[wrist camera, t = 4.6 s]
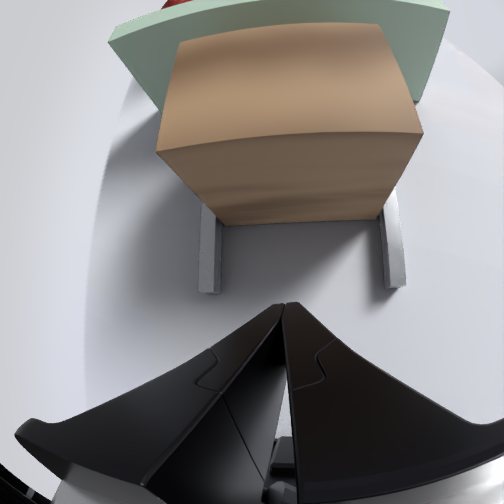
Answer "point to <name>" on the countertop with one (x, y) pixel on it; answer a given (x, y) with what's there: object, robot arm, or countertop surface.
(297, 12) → the backboard
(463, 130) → the countertop surface
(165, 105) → the walnut block
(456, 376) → the countertop surface
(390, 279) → the guide rails
